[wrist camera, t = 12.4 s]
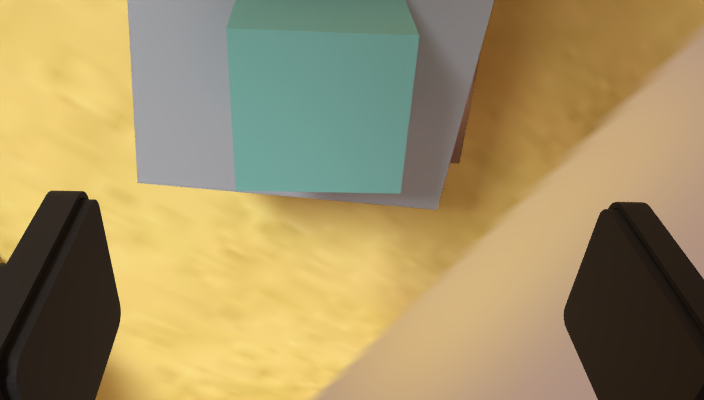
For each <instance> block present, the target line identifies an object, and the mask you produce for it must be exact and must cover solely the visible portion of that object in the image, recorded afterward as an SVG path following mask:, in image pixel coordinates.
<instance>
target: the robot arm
mask: <svg viewBox="0 0 704 400" xmlns="http://www.w3.org/2000/svg"><path fill="white" fill-rule="evenodd" d="M120 315H121V308H120V302H119V298H118V293H117V288H116V283H115V279H114V274H113V269H112V264H111V260H110V255H109V250H108V245H107V241H106V236H105V231H104V226H103V222H102V217H101V212H100V207H99V204H98V202H97V200H89V199H88V196H87V194H86V193H85V192H83V191H50V192H48V194H47V195H46V196H45V198H44V200H43V202H42V203H41V205H40V207H39V209H38V210H37V212H36V214H35V216H34V217H33V219H32V221H31V222H30V224H29V226H28V228H27V229H26V231H25V233H24V235H23V236H22V238H21V240H20V242H19V243H18V245H17V247H16V248H15V250H14V252H13V254H12V255H11V257H10V259H9V261H8V262H7V264H0V400H95V398H96V395H97V392H98V389H99V386H100V383H101V380H102V377H103V374H104V371H105V367H106V364H107V361H108V358H109V355H110V352H111V349H112V346H113V343H114V340H115V337H116V333H117V330H118V327H119V323H120ZM564 321H565V326H566V328H567V331H568V333H569V335H570V338H571V340H572V342H573V344H574V347H575V349H576V351H577V353H578V356H579V358H580V360H581V362H582V365H583V367H584V369H585V371H586V373H587V376H588V378H589V380H590V382H591V385H592V387H593V389H594V392H595V394H596V396H597V398H598V400H704V279H703V278H702V276H701V275H700V274H699V272H698V271H697V270H696V268H695V267H694V266H693V264H692V263H691V262H690V260H689V259H688V257H687V256H686V255H685V253H684V252H683V251H682V249H681V248H680V247H679V245H678V244H677V243H676V241H675V240H674V239H673V237H672V236H671V235H670V233H669V232H668V230H667V229H666V228H665V226H664V225H663V224H662V222H661V221H660V220H659V218H658V217H657V216H656V215H655V213H654V212H653V210H652V209H651V208H650V206H648V204H646V203H641V202H639V203H638V202H615V203H612V204H611V205H610V207H609V208H608V209H605V210H603V211H602V212H601V213H600V215H599V217H598V220H597V223H596V225H595V228H594V231H593V233H592V236H591V239H590V241H589V244H588V247H587V249H586V252H585V255H584V258H583V260H582V263H581V266H580V268H579V271H578V274H577V276H576V279H575V282H574V284H573V287H572V290H571V292H570V295H569V298H568V300H567V303H566V306H565V309H564Z"/></svg>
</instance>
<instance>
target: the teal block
mask: <svg viewBox="0 0 704 400" xmlns="http://www.w3.org/2000/svg"><path fill="white" fill-rule="evenodd" d="M226 32H227V49H228V67H229V84H230V101H231V118H232V135H233V152H234V170H235V187H236V191H281V192H338V193H395V194H400V192H401V184H402V176H403V168H404V159H405V151H406V143H407V135H408V126H409V118H410V110H411V102H412V93H413V85H414V77H415V68H416V60H417V52H418V44H419V33H418V31H417V28H416V26H415V23H414V21H413V18H412V15H411V13H410V10H409V8H408V5H407V3H406V0H235V3H234V6H233V9H232V12H231V15H230V18H229V22H228V25H227V28H226Z"/></svg>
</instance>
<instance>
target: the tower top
mask: <svg viewBox="0 0 704 400" xmlns="http://www.w3.org/2000/svg"><path fill="white" fill-rule="evenodd" d="M234 3H235V0H128V18H129V36H130V53H131V71H132V89H133V106H134V124H135V142H136V159H137V177H138V183H145V184H156V185H168V186H179V187H190V188H201V189H212V190H223V191H234V192H245V193H256V194H267V195H278V196H289V197H301V198H312V199H323V200H334V201H345V202H356V203H367V204H378V205H389V206H400V207H411V208H423V209H434V210H437V208H438V204H439V201H440V197H441V193H442V190H443V186H444V182H445V179H446V175H447V171H448V168H449V164H450V160H451V157H452V153H453V149H454V146H455V142H456V138H457V135H458V131H459V127H460V124H461V120H462V117H463V113H464V109H465V106H466V102H467V98H468V95H469V91H470V87H471V84H472V80H473V76H474V73H475V69H476V65H477V62H478V58H479V54H480V51H481V47H482V43H483V40H484V36H485V32H486V29H487V25H488V21H489V18H490V14H491V10H492V7H493V3H494V0H406V3H407V5H408V8H409V10H410V13H411V15H412V18H413V21H414V23H415V26H416V28H417V31H418V33H419V44H418V52H417V60H416V68H415V77H414V85H413V93H412V102H411V110H410V118H409V126H408V135H407V143H406V151H405V159H404V168H403V176H402V184H401V192H400V194H395V193H338V192H281V191H236V187H235V170H234V152H233V135H232V118H231V101H230V84H229V67H228V49H227V32H226V28H227V25H228V22H229V18H230V15H231V12H232V9H233V6H234Z"/></svg>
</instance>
